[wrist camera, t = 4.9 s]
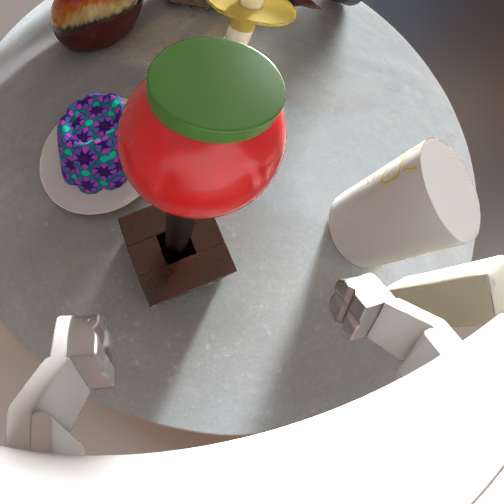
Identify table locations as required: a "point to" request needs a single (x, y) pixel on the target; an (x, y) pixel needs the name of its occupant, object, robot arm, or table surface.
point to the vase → (92, 22)
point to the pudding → (87, 158)
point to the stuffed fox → (304, 3)
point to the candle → (253, 16)
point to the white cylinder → (407, 208)
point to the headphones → (348, 2)
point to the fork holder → (180, 272)
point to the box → (457, 292)
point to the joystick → (203, 133)
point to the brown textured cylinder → (194, 3)
